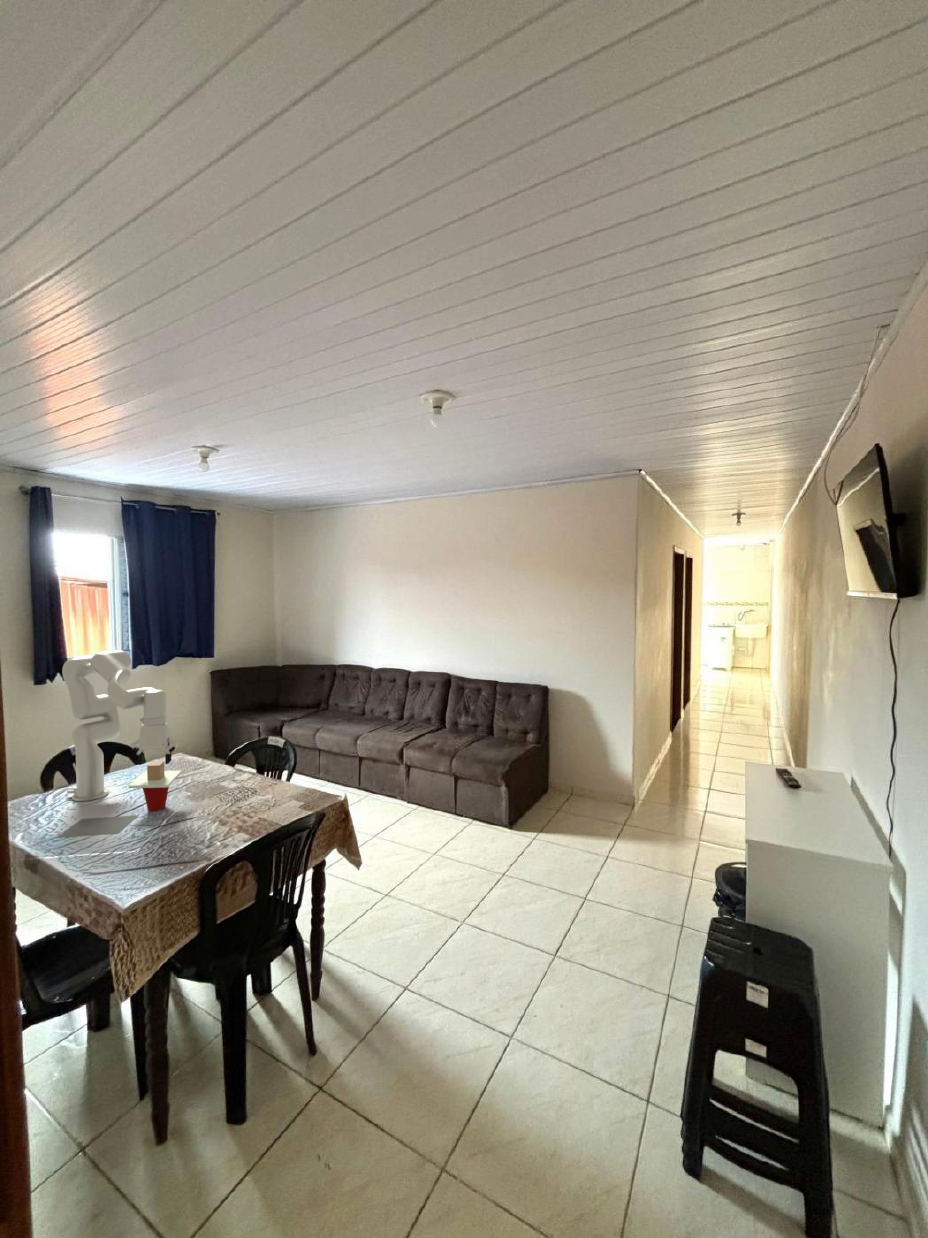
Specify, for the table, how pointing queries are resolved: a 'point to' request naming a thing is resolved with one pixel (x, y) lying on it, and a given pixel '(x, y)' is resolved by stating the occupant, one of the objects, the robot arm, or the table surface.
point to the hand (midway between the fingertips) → (154, 763)
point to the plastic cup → (156, 798)
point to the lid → (155, 777)
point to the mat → (98, 826)
